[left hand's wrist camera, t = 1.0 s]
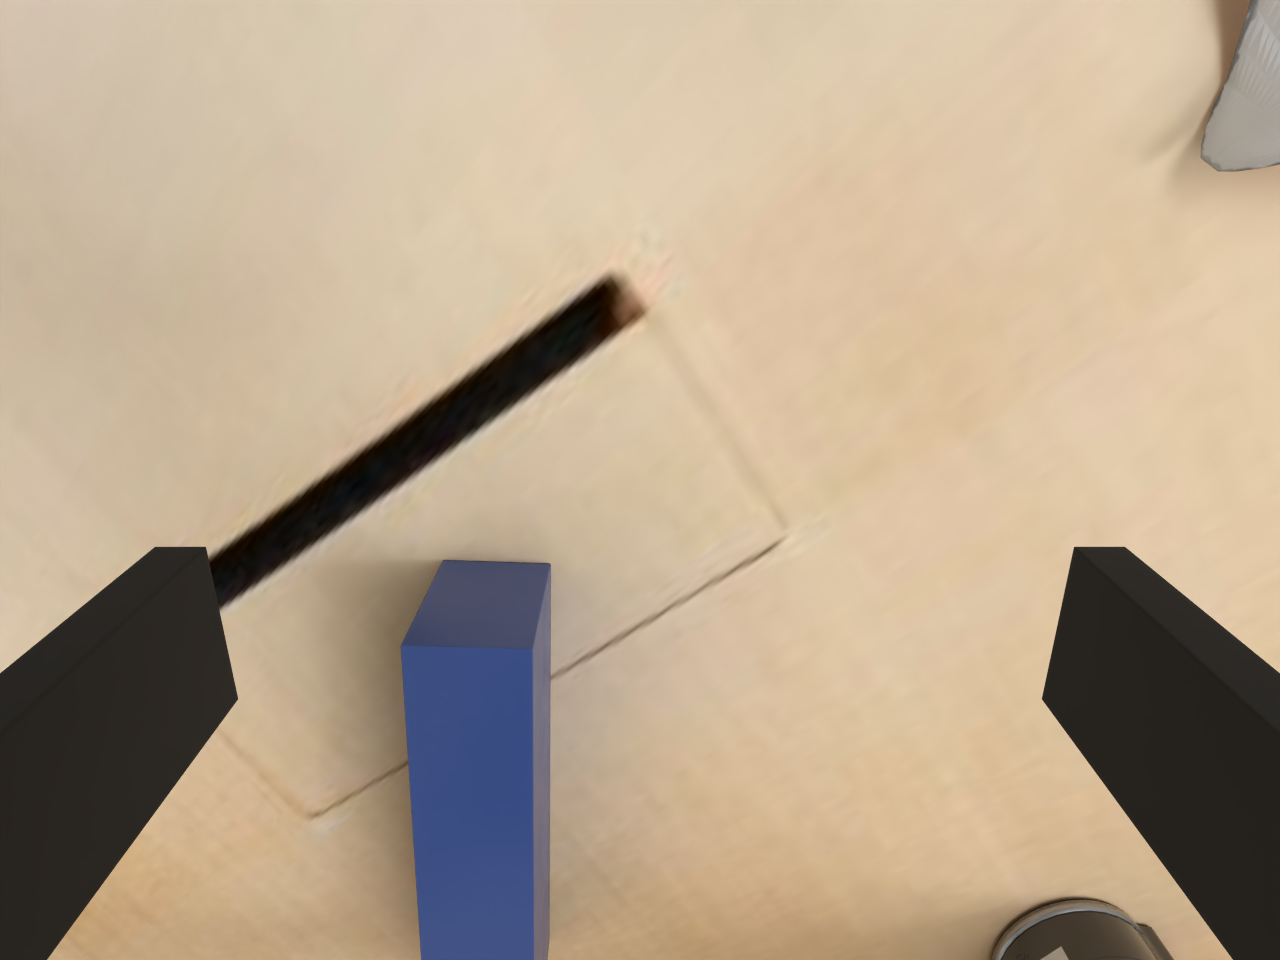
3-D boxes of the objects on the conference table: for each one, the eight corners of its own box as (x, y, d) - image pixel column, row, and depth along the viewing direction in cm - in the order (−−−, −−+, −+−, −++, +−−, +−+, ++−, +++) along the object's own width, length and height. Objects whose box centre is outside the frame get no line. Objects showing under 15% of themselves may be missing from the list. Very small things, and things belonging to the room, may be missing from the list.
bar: (442, 559, 43) (400, 645, 35) (550, 563, 43) (532, 649, 35) (459, 939, 51) (428, 1077, 44) (549, 941, 51) (534, 1079, 44)
